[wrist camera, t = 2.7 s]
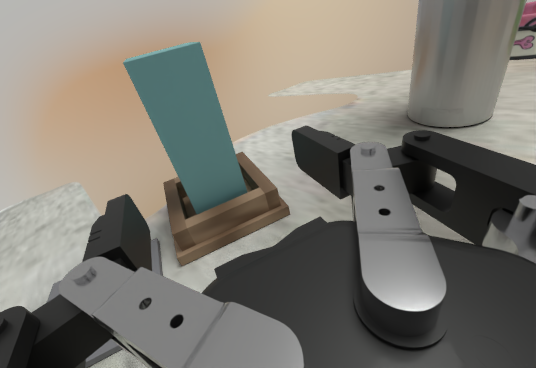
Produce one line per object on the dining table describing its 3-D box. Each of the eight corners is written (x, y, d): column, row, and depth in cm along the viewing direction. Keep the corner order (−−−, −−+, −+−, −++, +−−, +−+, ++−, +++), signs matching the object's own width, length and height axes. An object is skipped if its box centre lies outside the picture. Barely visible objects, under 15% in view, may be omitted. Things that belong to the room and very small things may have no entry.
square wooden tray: (250, 169, 32) (244, 148, 30) (290, 214, 24) (284, 188, 22) (169, 203, 29) (158, 182, 28) (181, 266, 21) (166, 241, 20)
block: (235, 180, 29) (188, 42, 21) (251, 203, 25) (200, 42, 17) (193, 198, 27) (126, 58, 20) (202, 225, 23) (123, 62, 16)
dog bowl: (448, 62, 52) (455, 23, 48) (480, 40, 60) (488, 6, 56) (586, 59, 39) (611, 6, 35) (602, 32, 47) (623, -14, 43)
